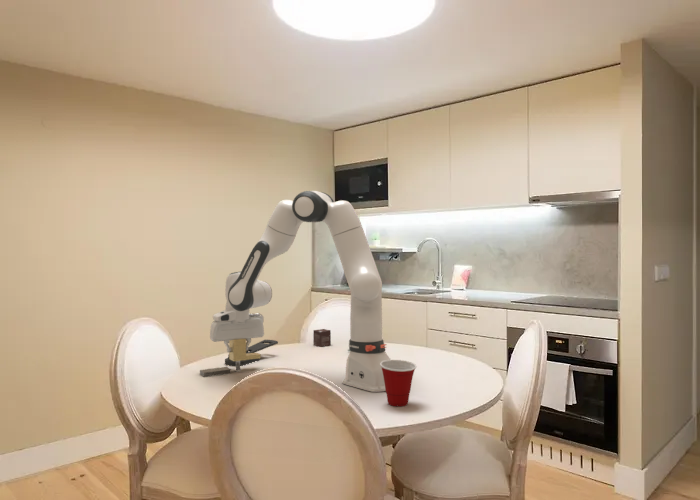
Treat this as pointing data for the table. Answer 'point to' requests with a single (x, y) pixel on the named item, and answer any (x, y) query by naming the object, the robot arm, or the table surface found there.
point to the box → (322, 337)
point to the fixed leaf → (219, 370)
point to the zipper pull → (252, 349)
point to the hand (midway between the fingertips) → (237, 351)
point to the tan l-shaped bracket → (240, 351)
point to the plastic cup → (397, 380)
